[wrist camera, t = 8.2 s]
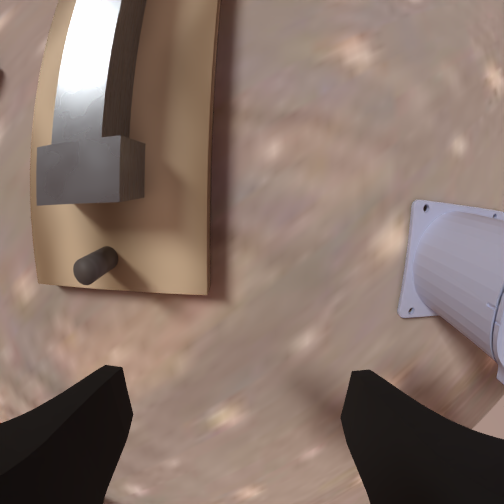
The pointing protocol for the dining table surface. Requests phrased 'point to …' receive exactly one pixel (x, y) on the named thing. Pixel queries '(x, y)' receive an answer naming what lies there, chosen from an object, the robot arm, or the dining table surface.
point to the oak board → (156, 164)
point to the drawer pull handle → (95, 110)
